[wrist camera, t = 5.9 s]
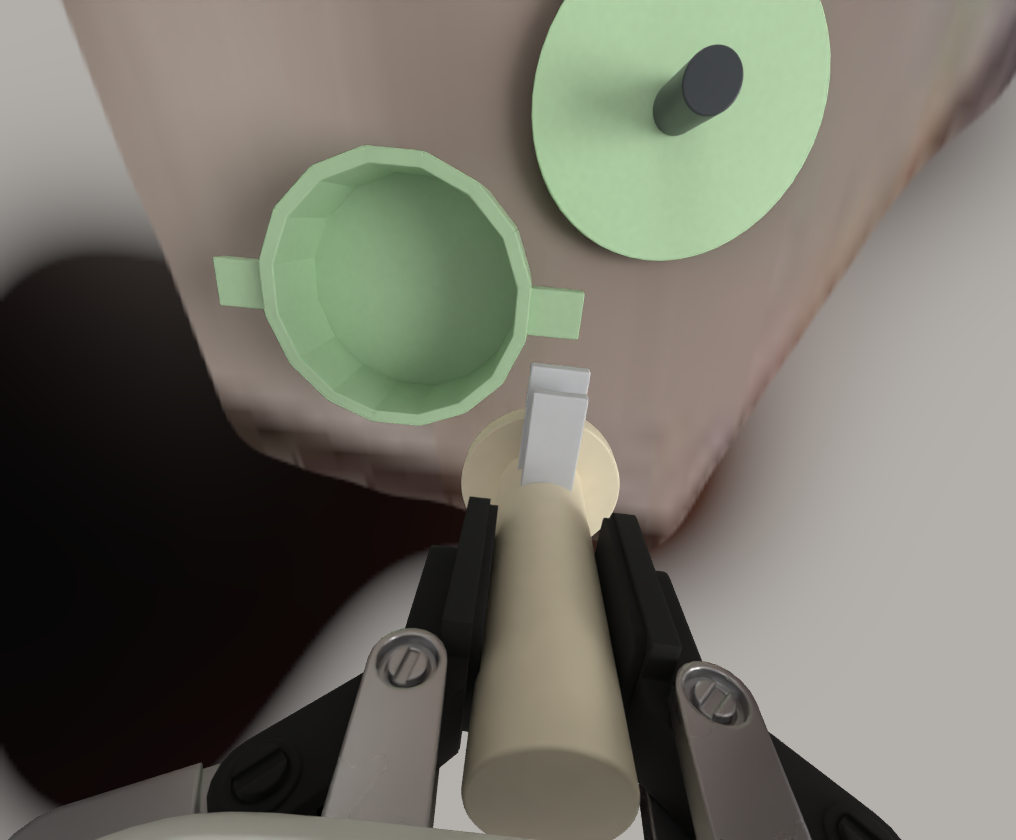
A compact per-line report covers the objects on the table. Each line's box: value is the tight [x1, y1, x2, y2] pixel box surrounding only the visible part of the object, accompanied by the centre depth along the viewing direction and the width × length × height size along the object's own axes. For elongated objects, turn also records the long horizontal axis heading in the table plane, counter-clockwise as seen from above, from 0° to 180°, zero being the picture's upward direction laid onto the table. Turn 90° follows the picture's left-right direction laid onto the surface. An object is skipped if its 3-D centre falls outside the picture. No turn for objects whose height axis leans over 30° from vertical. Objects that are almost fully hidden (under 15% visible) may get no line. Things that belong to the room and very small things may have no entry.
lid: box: [531, 0, 830, 261], centre depth 21 cm, size 14×14×6 cm
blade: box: [461, 362, 640, 840], centre depth 11 cm, size 8×5×10 cm, turn 174°
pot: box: [213, 145, 585, 426], centre depth 26 cm, size 13×19×6 cm
